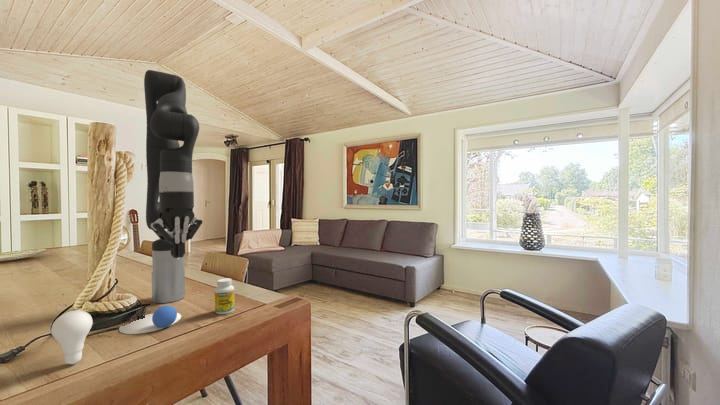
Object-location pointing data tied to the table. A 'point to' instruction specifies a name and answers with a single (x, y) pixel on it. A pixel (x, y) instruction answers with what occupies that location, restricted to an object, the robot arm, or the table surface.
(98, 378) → the table surface
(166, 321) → the ball
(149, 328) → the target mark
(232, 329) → the table surface
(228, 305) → the supplement bottle
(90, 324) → the lightbulb
